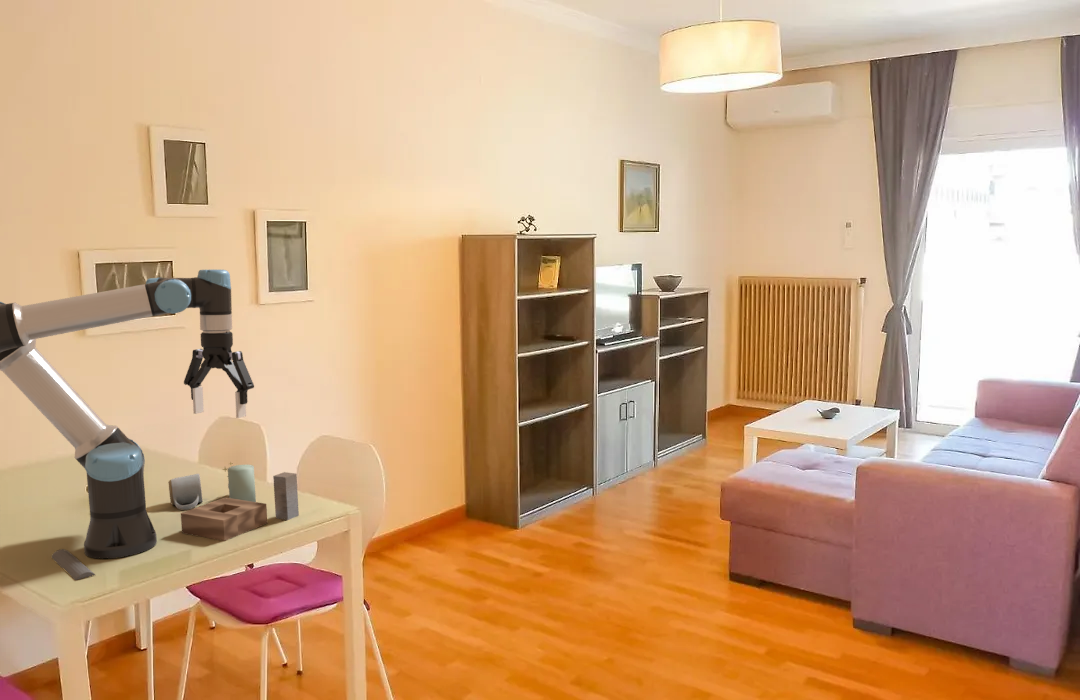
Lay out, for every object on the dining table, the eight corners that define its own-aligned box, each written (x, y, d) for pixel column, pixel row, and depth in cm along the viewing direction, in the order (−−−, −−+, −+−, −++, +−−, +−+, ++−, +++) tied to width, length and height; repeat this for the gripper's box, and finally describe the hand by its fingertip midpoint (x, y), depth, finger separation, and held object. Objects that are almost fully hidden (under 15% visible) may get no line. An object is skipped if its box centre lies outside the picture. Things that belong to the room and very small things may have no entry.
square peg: (287, 520, 219) (285, 477, 218) (275, 518, 221) (273, 476, 219) (298, 515, 223) (296, 473, 221) (286, 513, 224) (284, 472, 223)
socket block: (224, 540, 204) (223, 520, 204) (182, 533, 210) (180, 513, 210) (267, 523, 217) (266, 503, 216) (225, 516, 223) (224, 497, 222)
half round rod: (75, 583, 182) (74, 575, 181) (50, 559, 196) (49, 552, 195) (97, 577, 184) (96, 569, 184) (70, 554, 199) (70, 547, 198)
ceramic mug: (169, 501, 237) (167, 474, 236) (201, 497, 240) (199, 470, 239) (171, 513, 227) (168, 484, 226) (204, 508, 231) (202, 480, 229)
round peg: (243, 513, 225) (240, 472, 224) (224, 510, 228) (222, 469, 227) (261, 506, 231) (259, 465, 230) (243, 503, 234) (240, 463, 233)
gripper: (266, 332, 216) (269, 416, 218) (189, 328, 225) (192, 408, 228) (246, 334, 209) (249, 421, 211) (166, 330, 218) (170, 413, 221)
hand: (219, 415), depth 220 cm, fingers open, 13 cm apart
